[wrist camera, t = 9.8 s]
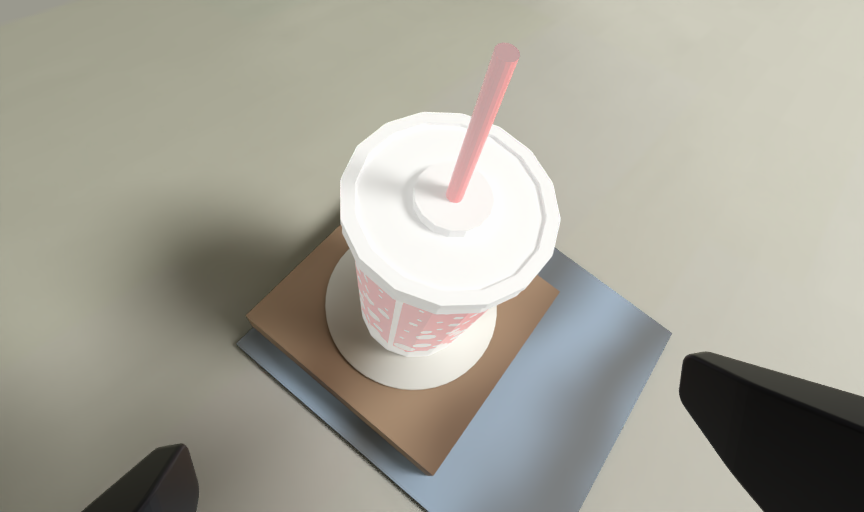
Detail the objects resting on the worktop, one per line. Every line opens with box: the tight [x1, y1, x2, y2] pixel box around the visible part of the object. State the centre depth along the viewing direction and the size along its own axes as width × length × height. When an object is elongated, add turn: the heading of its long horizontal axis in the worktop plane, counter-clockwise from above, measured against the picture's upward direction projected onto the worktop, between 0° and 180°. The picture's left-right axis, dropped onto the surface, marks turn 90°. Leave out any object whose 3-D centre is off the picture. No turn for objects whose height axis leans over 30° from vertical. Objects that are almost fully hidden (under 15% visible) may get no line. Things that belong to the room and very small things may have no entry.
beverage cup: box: [340, 43, 561, 357], centre depth 15 cm, size 6×6×14 cm
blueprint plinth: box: [236, 224, 672, 512], centre depth 22 cm, size 16×14×2 cm
